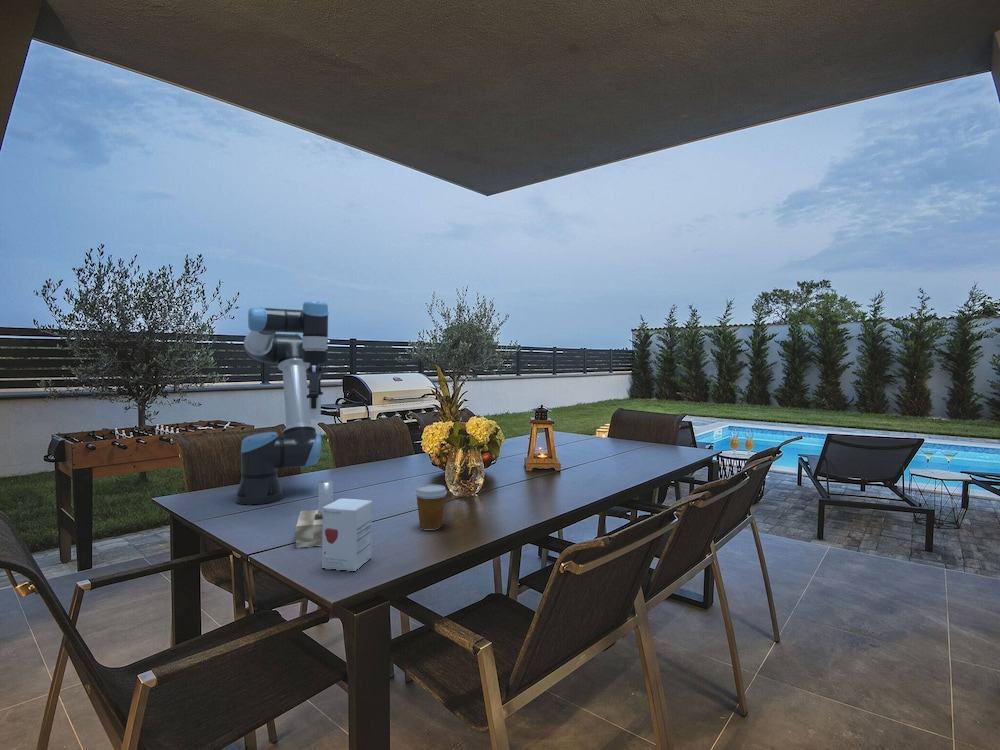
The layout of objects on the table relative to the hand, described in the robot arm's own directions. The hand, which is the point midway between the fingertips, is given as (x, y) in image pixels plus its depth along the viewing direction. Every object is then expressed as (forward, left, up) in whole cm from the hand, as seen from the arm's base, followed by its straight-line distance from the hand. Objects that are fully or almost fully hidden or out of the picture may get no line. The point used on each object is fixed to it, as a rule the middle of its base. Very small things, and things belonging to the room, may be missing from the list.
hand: (315, 417), depth 162 cm
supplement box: (+10, -43, -32) cm, 55 cm away
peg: (+4, -22, -30) cm, 37 cm away
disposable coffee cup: (+34, -21, -32) cm, 51 cm away
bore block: (+4, -22, -32) cm, 39 cm away
